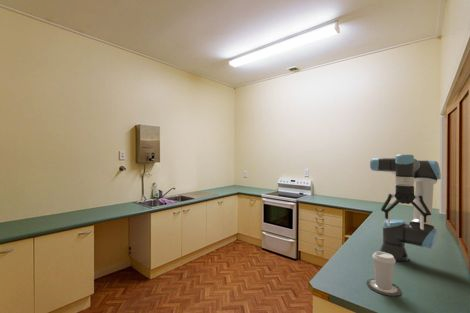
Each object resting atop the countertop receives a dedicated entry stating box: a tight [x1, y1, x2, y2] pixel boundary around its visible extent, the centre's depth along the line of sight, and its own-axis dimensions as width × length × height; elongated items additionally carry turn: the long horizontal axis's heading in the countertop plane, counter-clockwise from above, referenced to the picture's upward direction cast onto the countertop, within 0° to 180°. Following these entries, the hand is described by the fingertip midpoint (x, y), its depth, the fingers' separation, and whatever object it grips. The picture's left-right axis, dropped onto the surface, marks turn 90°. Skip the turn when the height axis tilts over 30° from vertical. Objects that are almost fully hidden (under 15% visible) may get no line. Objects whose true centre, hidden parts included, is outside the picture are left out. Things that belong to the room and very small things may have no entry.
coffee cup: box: [371, 250, 397, 290], centre depth 109 cm, size 10×10×15 cm
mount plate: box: [366, 278, 402, 297], centre depth 109 cm, size 14×14×1 cm
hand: (404, 227), depth 114 cm, fingers open, 13 cm apart
